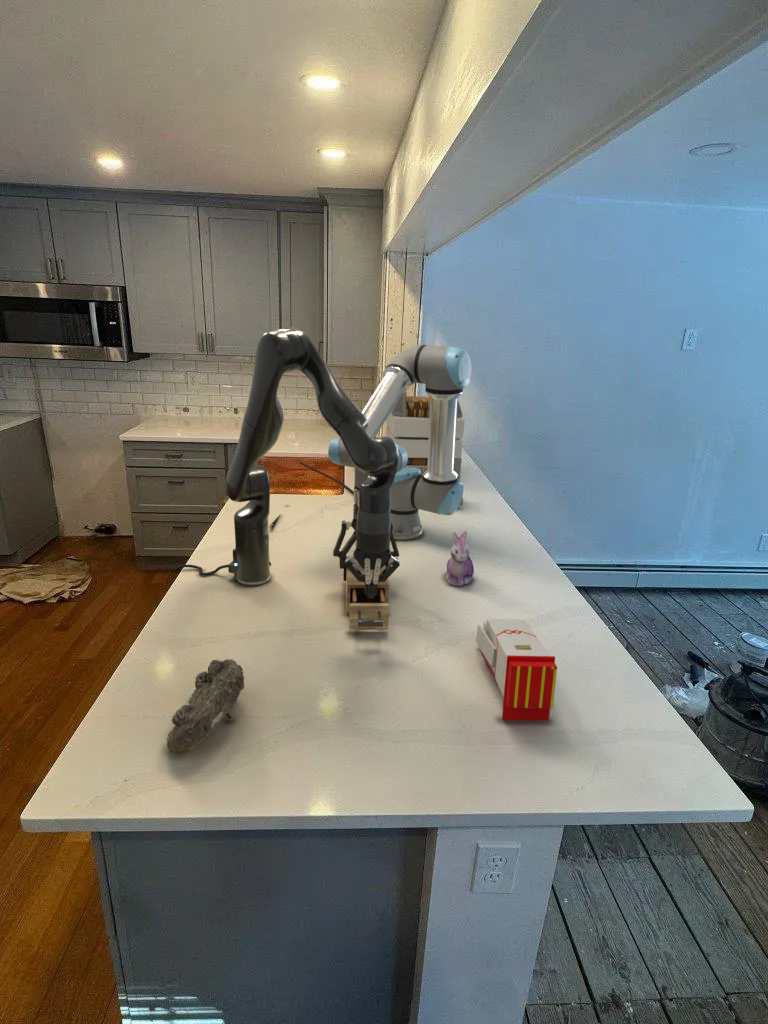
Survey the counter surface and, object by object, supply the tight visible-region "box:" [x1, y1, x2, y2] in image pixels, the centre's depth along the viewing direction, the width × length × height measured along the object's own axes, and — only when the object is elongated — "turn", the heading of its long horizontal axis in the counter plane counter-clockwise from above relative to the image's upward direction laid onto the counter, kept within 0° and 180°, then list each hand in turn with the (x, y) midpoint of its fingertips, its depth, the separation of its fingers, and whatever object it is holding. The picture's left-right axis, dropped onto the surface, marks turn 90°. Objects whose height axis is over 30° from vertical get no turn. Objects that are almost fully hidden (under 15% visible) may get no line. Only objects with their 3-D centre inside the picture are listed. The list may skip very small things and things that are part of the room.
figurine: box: [445, 530, 475, 587], centre depth 165 cm, size 9×10×15 cm
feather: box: [268, 504, 288, 532], centre depth 209 cm, size 2×28×2 cm
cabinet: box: [345, 555, 390, 616], centre depth 153 cm, size 17×11×9 cm, turn 4°
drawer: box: [348, 588, 390, 631], centre depth 142 cm, size 22×9×7 cm, turn 4°
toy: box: [475, 618, 558, 722], centre depth 122 cm, size 12×13×30 cm
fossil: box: [166, 658, 245, 754], centre depth 106 cm, size 22×10×15 cm
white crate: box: [385, 391, 465, 482], centre depth 268 cm, size 34×33×41 cm
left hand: (370, 596), depth 131 cm, fingers closed
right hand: (365, 578), depth 157 cm, fingers closed on cabinet, 11 cm apart
